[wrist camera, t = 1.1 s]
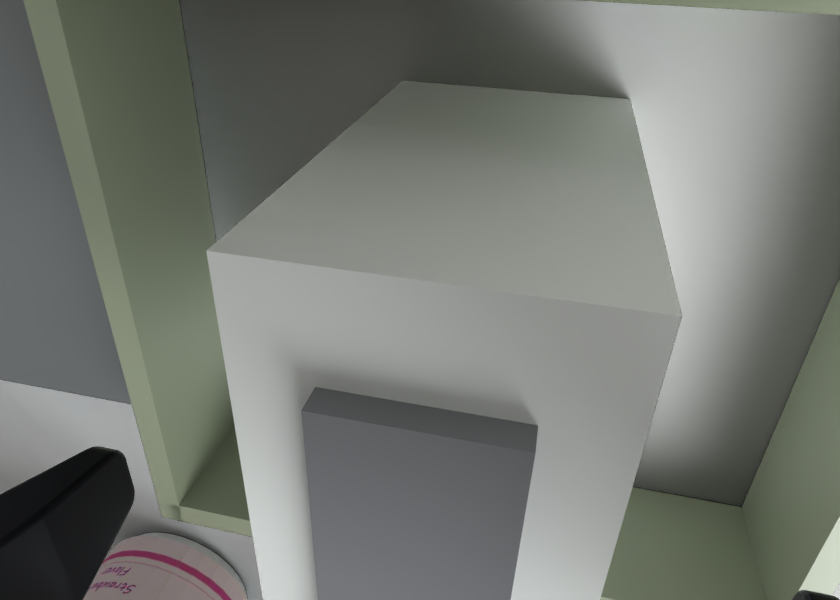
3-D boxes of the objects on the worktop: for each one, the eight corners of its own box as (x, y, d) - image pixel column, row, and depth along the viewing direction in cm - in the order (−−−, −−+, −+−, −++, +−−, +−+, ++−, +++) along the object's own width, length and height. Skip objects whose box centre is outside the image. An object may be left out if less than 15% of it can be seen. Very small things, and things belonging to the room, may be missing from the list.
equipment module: (567, 415, 16) (552, 788, 9) (398, 386, 17) (266, 711, 10) (629, 98, 12) (688, 341, 5) (402, 79, 13) (184, 269, 6)
